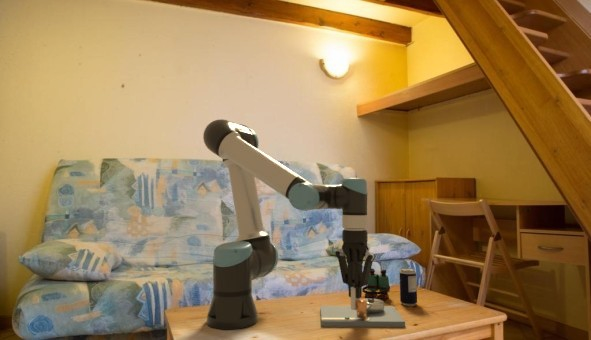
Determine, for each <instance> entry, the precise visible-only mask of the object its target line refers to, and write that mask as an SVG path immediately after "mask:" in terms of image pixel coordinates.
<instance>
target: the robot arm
mask: <svg viewBox="0 0 591 340" xmlns="http://www.w3.org/2000/svg"><path fill="white" fill-rule="evenodd" d="M202 137H203V143H204V145H205V147H206V148H207V149H208V151H211V152H212V153H213V154H215V155H216V156H218V157H219V158H220V159H222V164H223V165H224V166H226V167H227V169H228V174H229V180H230V186H231V187H230V188H231V192H232V193H231V194H232V198H233V199H232V200H233V205H234V206H233V208H234V212H235V216H236V224H237V225H236V226H237V231H238V236H237V238H236V240H235V241H229V242H223V243H221V244H219V245H217V246H216V247H215V248H214V250H213V258H212V263H213V265H212V266H213V269H212V272H213V274H212V277H213V279H212V280H213V281H212V283H213V284H212V285H213V286H212V294H213V295H212V299H211V303H210V306H209V309H208V312H207V315H206V324H207V326H208V327H211V328H214V329H218V330H237V329H243V328H244V329H245V328H248V327H251V326H253V325H255V324H256V323H257V322H258V311H257V308H256V304H255V301H254V298H253V292H252V291H253V289H252V287H253V286H252V285H253V284H252V283H253V280H256V279H258V278H263V277H264V278H265V277H266V276H267V275H269V274H270V273H272V272H273V271H274V270H275V269H276V267H277V265H278V263H279V262H278V261H279V252H278V249H277V247H276V246H275V244H273V242H271V238H270V234H269V233H268V232H266V231H265V230H264V223H263V219H262V213H261V207H260V206H261V205H260V200H259V195H258V194H259V193H258V190H257V184H256V183H257V182H256V179H258V180H259V181H260V182H262V183H263V184H265V185H267V186H268V187H269V188H271V189H272V190H274V191H275V192H277V193H278V194H280V195H281V196H282V197H285V199H287V200H288V201H289V203H290V205H291V206H292V207H293V208H294V209H296V210H300V211H305V212H306V211H310V210H311V211H312V210H313V211H314V210H328V209H329V210H341V212H342V213H341V214H342V215H341V216H342V217H341V218H342V219H341V221H342V225H341V227H342V228H343V229H342V233H341V234H342V239H341V240H342V245H341V248H340V249H339V250H335V255H336V257H337V259H338V266H339V269H340V274H341V280H342V283H343V284H346V285H347V286H348V297H349V298H350V306H351V310H357V306H356V301H357V300H360V299H362V296H363V294H362V292H363V291H362V288H363V287H366V285H368V280H369V276H370V271H371V268H373V262H374V260H375V259H376V256H377V255H376V254H375V253H371V252H370V251H369V247H368V240H369V239H368V230H367V228H368V195H369V194H368V184H367V183H368V182H367V180H366V179H365V178H361V177H346V178H343V179H342V180H341V184H317V183H312V182H310V181H308V180H307V179H306V178H304V177H302V176H301V175H299V174H297V173H296V172H294V171H293V170H291V169H290V168H289V167H287V166H285V165H284V164H282V163H281V162H279V161H277V160H276V159H274V158H272V157H271V156H270V155H267V154H266V153H264V152H263V151H261V150H259V138H258V135H257V134H256V132H255V131H254V130H253V129H252V128H250V127H248V126H247V125H244V124H242V123H241V124H240V123H235V122H233V121H230V120H227V119H216V120H215V119H214V120H212V121H211V122H210V123H208V124H207V125H206V127H205V128H204V131H203V136H202ZM364 258H365V261H364Z"/></svg>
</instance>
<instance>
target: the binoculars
mask: <svg viewBox="0 0 591 340" xmlns="http://www.w3.org/2000/svg"><path fill="white" fill-rule="evenodd" d="M375 272H376V270H375V268H373V267H371V271H370V276H369V280H368V284H367V285H365V286H362V292H363V293H364V299H367V298H372V299H379V300H382V301H383V302H384V301H386V300H387V299H388V298H390V295H389V293H390V292H391V290H390V289H391V286H390V281H389V280H390V279H389V275H386V274H387V269H383V270H380V274H378V273H375ZM375 297H376V298H375Z"/></svg>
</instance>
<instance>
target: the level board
mask: <svg viewBox="0 0 591 340" xmlns="http://www.w3.org/2000/svg"><path fill="white" fill-rule="evenodd" d="M319 307H320V320H321V321H320V322H321V327H333V328H334V327H336V328H337V327H340V328H341V327H342V328H343V327H344V328H345V327H347V328H348V327H357V328H358V327H363V328H365V327H366V328H369V327H370V328H373V327H374V328H377V327H378V328H379V327H380V328H405V327H406V321H405V320H404V318H403V317H402V315H401V314H400V312H399V311H398V310H397V309H396V308H395V307H394V306H393V305H384V311H383V312H380V313H368V314H367V318H357V310H351V305H320V306H319Z"/></svg>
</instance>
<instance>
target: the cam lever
mask: <svg viewBox="0 0 591 340" xmlns="http://www.w3.org/2000/svg"><path fill="white" fill-rule="evenodd" d="M356 306H357V318H367V314H368V313H380V312H383V311H384V306H385V302H384V301H382V300H379V299H377V298H374V299H372V298H367V299H365V298H360V299H359V300H357V301H356Z"/></svg>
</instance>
